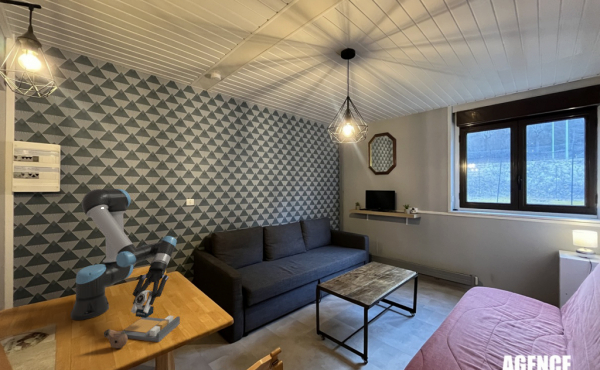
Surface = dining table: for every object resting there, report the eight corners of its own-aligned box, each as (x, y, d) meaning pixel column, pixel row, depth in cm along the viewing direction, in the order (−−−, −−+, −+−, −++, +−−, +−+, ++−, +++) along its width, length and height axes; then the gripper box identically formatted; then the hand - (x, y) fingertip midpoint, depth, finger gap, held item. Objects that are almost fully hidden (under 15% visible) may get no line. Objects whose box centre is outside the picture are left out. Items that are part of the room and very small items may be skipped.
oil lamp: (100, 352, 97) (100, 332, 97) (106, 345, 101) (106, 326, 101) (124, 350, 99) (125, 330, 99) (129, 343, 103) (130, 324, 103)
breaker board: (118, 336, 107) (118, 327, 107) (143, 319, 121) (143, 311, 121) (158, 342, 104) (159, 332, 104) (179, 323, 118) (179, 315, 118)
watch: (131, 318, 109) (132, 294, 109) (146, 309, 117) (147, 287, 117) (142, 320, 108) (143, 296, 108) (156, 311, 116) (157, 288, 116)
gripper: (179, 267, 128) (162, 314, 112) (145, 267, 128) (123, 315, 111) (174, 260, 123) (155, 309, 107) (139, 260, 123) (114, 309, 106)
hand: (139, 312), depth 109 cm, fingers closed on watch, 5 cm apart
